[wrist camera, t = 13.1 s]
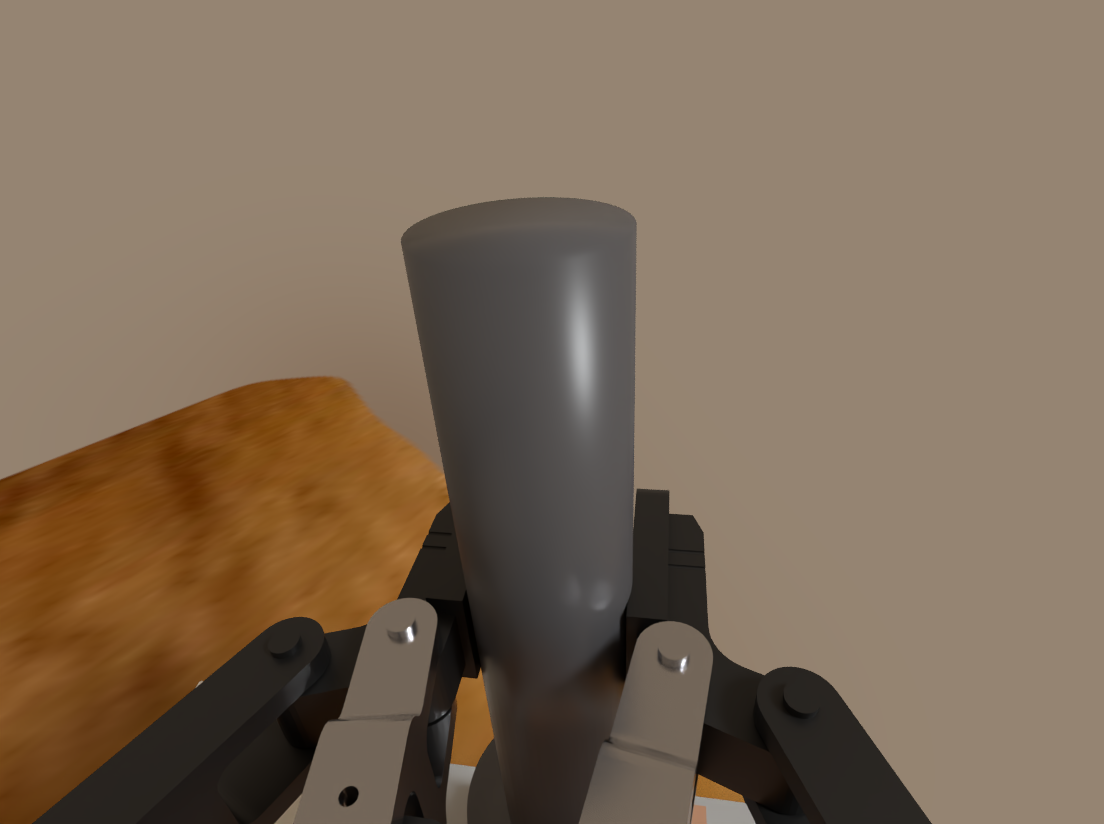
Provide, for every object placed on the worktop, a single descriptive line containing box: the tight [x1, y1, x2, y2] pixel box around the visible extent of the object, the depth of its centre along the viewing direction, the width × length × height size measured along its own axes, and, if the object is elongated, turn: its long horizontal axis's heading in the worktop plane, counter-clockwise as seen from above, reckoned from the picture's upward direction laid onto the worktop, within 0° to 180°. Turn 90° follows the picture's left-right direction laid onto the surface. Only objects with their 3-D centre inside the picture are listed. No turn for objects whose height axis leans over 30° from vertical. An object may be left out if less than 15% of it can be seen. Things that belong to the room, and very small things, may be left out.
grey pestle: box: [401, 197, 636, 824], centre depth 13 cm, size 5×5×18 cm
